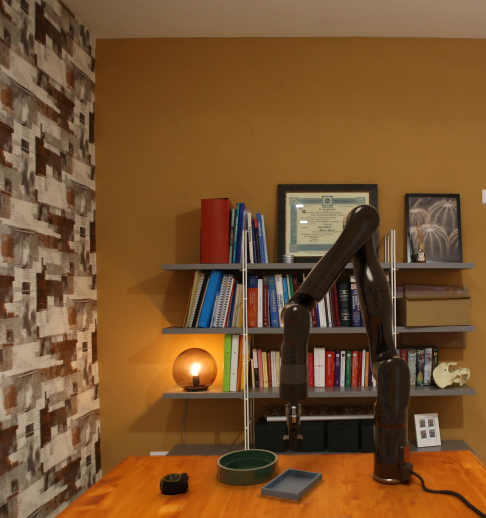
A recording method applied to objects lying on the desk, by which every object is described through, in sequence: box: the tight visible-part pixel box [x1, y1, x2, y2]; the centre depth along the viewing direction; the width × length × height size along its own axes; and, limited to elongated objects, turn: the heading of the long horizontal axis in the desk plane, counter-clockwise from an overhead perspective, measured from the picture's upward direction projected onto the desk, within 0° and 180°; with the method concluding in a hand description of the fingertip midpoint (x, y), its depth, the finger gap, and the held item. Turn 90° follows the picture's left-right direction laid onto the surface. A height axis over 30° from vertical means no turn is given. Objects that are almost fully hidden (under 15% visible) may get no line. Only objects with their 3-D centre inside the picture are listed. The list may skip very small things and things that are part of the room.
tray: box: [260, 467, 323, 502], centre depth 127 cm, size 10×14×2 cm
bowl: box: [216, 448, 279, 487], centre depth 135 cm, size 16×16×4 cm
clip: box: [282, 434, 304, 451], centre depth 127 cm, size 5×2×3 cm, turn 100°
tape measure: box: [159, 472, 190, 496], centre depth 124 cm, size 7×7×4 cm
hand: (292, 447), depth 127 cm, fingers closed on clip, 2 cm apart
